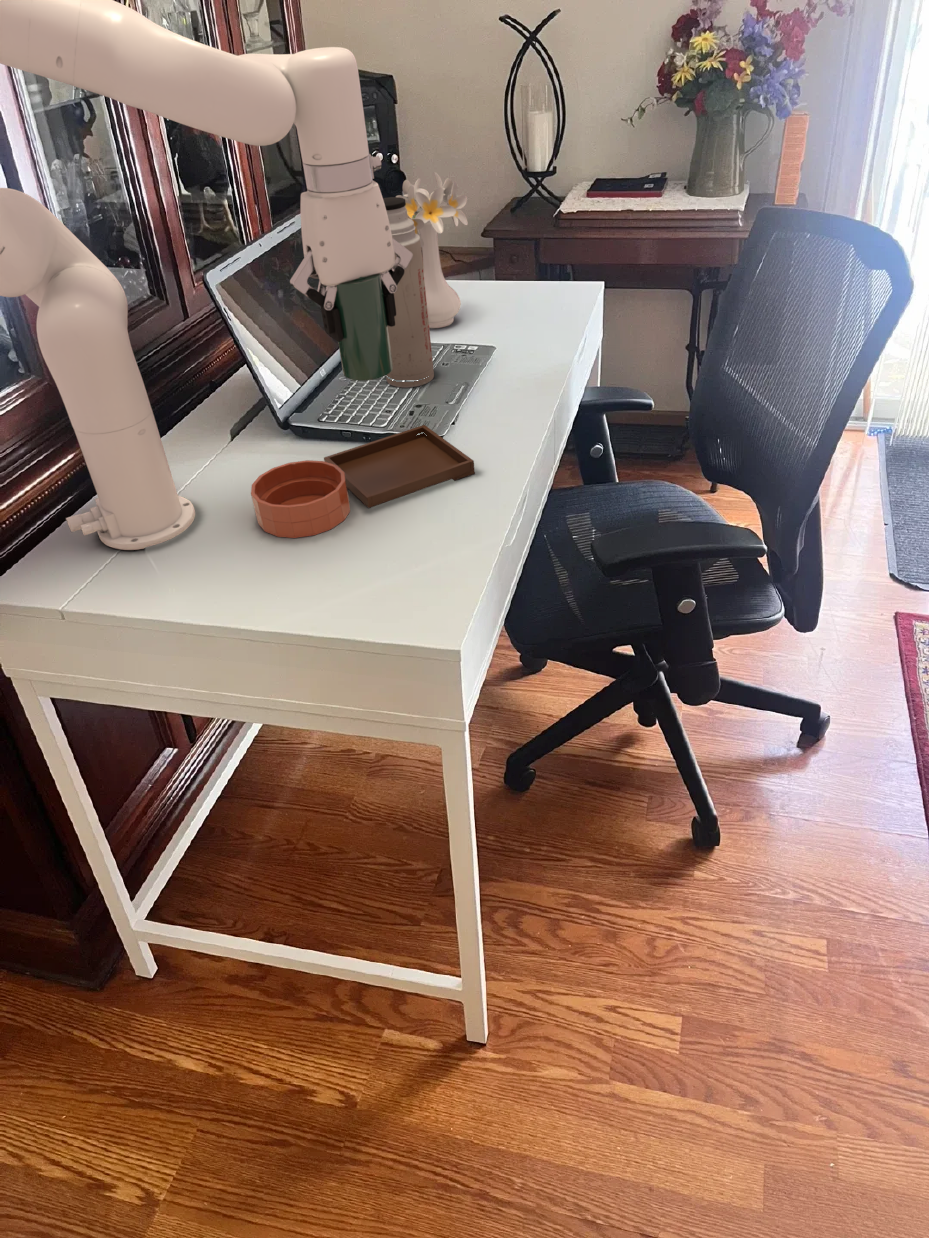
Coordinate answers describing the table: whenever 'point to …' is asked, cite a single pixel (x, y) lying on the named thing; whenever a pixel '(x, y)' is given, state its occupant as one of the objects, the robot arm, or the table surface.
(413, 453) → the tray
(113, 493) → the robot arm
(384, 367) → the bottle
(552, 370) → the table surface
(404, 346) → the thermos bottle
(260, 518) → the bowl
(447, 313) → the flower vase
